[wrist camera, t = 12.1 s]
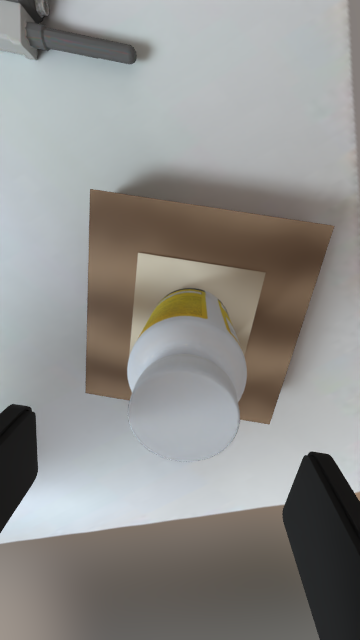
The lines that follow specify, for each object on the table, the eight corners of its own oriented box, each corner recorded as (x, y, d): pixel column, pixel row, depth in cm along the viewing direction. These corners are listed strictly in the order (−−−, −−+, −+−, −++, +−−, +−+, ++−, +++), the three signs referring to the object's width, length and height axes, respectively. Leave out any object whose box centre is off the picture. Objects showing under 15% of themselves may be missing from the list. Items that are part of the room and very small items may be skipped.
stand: (260, 398, 28) (270, 425, 24) (100, 371, 29) (84, 394, 25) (311, 226, 22) (335, 225, 18) (108, 196, 23) (89, 188, 19)
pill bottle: (136, 317, 22) (72, 404, 11) (197, 269, 20) (194, 313, 9) (185, 371, 23) (172, 498, 12) (245, 330, 21) (294, 434, 10)
